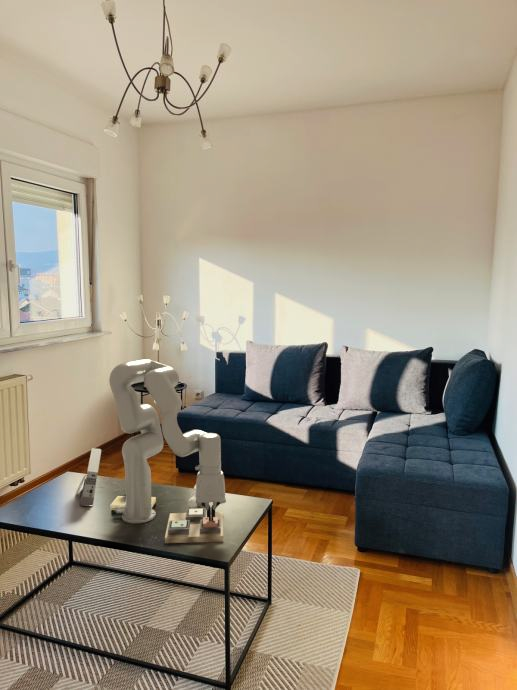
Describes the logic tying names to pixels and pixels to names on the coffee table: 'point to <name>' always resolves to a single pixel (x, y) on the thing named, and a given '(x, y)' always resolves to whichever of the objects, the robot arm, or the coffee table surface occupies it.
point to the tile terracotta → (210, 522)
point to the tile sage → (179, 524)
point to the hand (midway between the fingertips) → (211, 518)
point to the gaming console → (90, 478)
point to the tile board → (194, 529)
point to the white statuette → (193, 499)
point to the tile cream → (196, 512)
